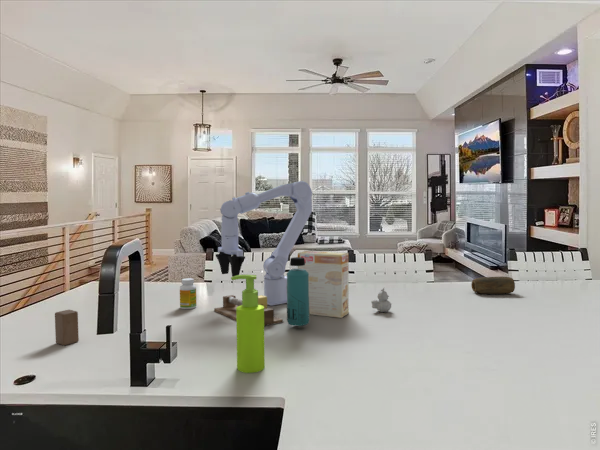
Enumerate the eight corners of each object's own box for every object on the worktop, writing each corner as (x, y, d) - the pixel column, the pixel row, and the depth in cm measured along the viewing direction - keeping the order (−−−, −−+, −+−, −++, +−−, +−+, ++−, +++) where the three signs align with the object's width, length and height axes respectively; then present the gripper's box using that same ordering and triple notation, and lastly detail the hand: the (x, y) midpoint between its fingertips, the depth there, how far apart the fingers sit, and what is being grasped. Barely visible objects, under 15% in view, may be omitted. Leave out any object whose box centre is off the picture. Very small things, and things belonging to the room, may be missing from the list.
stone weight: (507, 291, 170) (507, 274, 170) (516, 295, 163) (516, 277, 163) (469, 292, 170) (469, 275, 169) (477, 296, 163) (477, 278, 162)
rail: (214, 310, 142) (214, 297, 142) (241, 306, 148) (240, 293, 148) (253, 328, 122) (253, 312, 122) (282, 322, 128) (282, 307, 128)
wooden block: (63, 346, 108) (62, 314, 107) (55, 343, 110) (53, 312, 109) (79, 341, 111) (78, 310, 111) (70, 339, 113) (69, 308, 113)
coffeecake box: (349, 313, 138) (349, 252, 137) (341, 318, 132) (341, 254, 131) (306, 308, 145) (306, 250, 144) (297, 313, 138) (296, 252, 137)
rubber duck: (394, 313, 138) (394, 288, 137) (374, 314, 137) (374, 289, 136) (388, 309, 143) (388, 285, 143) (368, 310, 142) (368, 285, 142)
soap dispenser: (233, 363, 96) (231, 273, 95) (264, 362, 96) (263, 272, 95) (231, 373, 90) (229, 277, 89) (264, 372, 90) (263, 277, 89)
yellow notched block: (245, 316, 130) (244, 297, 130) (262, 313, 134) (261, 295, 133) (250, 318, 128) (249, 299, 127) (267, 315, 131) (267, 296, 131)
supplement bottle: (192, 309, 143) (191, 280, 143) (177, 309, 145) (176, 280, 144) (199, 306, 149) (198, 278, 148) (184, 305, 150) (184, 277, 149)
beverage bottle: (312, 325, 124) (312, 256, 123) (305, 332, 118) (305, 259, 117) (291, 323, 126) (290, 255, 125) (283, 330, 120) (282, 258, 119)
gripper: (209, 235, 152) (210, 273, 152) (229, 237, 140) (229, 279, 141) (228, 234, 156) (228, 271, 157) (248, 236, 144) (248, 277, 145)
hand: (230, 275), depth 149 cm, fingers open, 7 cm apart
